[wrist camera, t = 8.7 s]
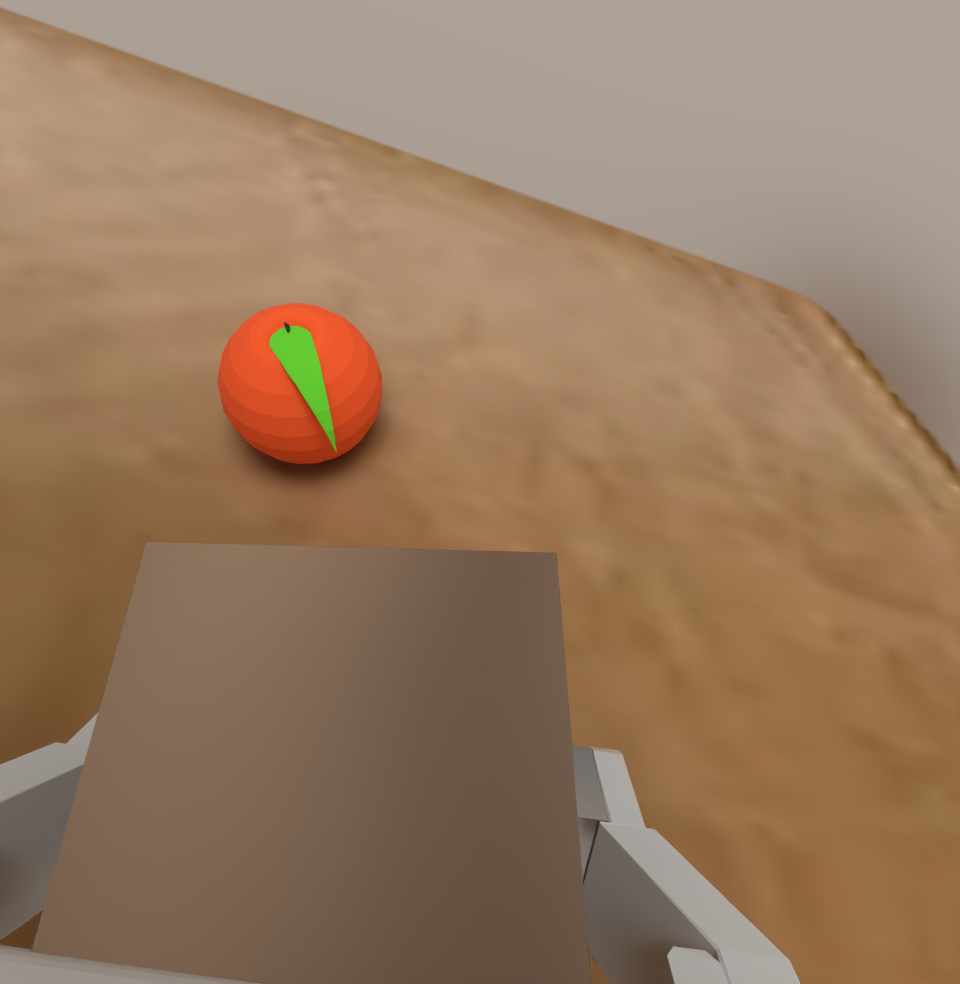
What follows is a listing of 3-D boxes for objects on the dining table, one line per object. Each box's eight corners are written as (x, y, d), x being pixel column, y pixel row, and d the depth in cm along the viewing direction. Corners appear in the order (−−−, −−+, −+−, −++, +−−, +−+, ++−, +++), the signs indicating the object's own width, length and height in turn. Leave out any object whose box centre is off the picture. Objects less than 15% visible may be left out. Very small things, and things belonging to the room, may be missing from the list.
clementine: (418, 476, 29) (416, 381, 22) (276, 533, 27) (231, 446, 20) (355, 359, 32) (338, 246, 26) (224, 401, 30) (171, 291, 24)
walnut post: (272, 919, 13) (-16, 1119, 4) (300, 702, 15) (146, 542, 6) (478, 913, 13) (598, 1083, 5) (476, 703, 16) (556, 552, 7)
